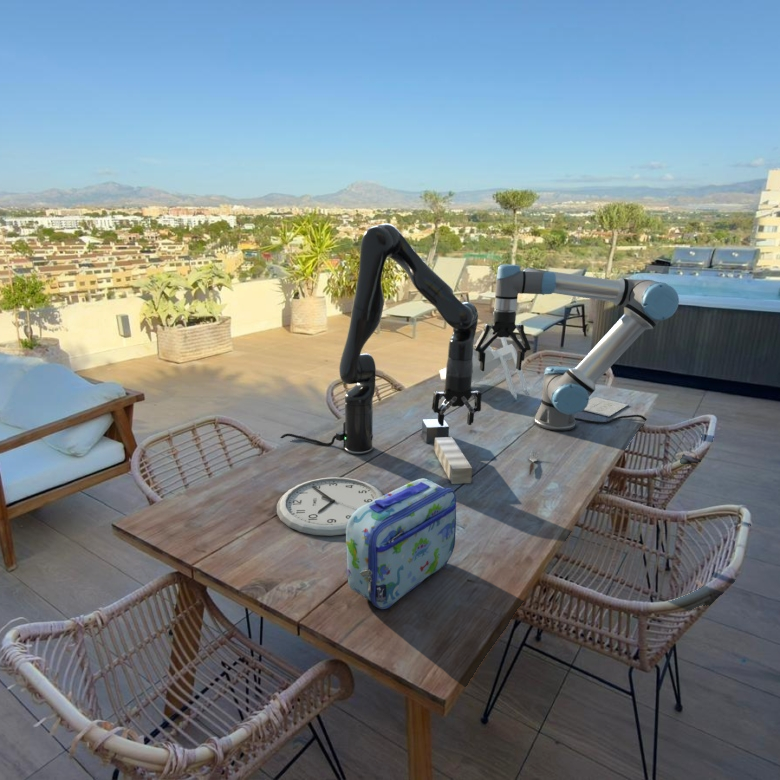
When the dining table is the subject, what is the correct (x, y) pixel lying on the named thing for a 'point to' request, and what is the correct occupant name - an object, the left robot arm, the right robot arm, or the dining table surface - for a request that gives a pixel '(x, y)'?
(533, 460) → the fork
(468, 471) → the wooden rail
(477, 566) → the dining table surface
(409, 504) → the lunch box
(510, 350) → the white plastic object
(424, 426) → the slate block
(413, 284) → the left robot arm
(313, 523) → the wall clock
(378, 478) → the dining table surface
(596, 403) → the invitation card
